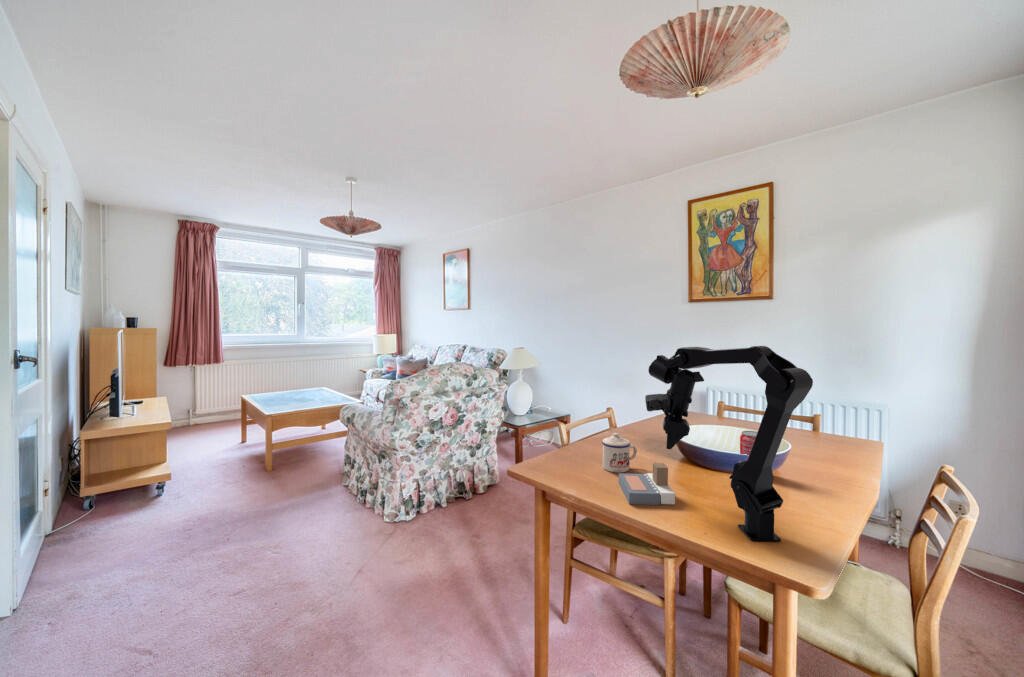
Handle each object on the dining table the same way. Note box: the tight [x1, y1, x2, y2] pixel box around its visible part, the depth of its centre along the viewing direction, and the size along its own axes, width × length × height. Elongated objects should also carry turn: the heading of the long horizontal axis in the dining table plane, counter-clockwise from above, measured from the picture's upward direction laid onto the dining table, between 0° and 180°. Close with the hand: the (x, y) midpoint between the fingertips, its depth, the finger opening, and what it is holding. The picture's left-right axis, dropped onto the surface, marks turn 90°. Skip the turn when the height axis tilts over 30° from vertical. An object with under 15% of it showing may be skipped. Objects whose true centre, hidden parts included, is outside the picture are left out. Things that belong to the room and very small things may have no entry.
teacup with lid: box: [601, 432, 638, 474], centre depth 135 cm, size 12×9×12 cm
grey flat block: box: [618, 472, 661, 506], centre depth 115 cm, size 14×8×3 cm, turn 177°
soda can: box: [739, 430, 758, 455], centre depth 129 cm, size 7×7×13 cm
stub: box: [646, 462, 676, 505], centre depth 115 cm, size 14×4×8 cm, turn 177°
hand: (667, 441), depth 116 cm, fingers open, 9 cm apart
